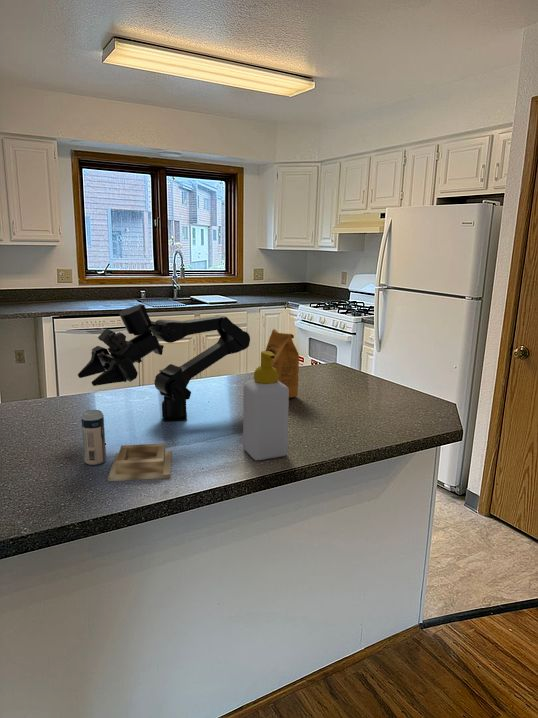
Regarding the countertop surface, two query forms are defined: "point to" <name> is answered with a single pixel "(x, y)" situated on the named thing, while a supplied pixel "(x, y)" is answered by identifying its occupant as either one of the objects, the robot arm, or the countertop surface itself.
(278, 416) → the soap bottle
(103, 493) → the countertop surface
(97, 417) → the beer can
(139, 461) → the socket board
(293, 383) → the coffee package
